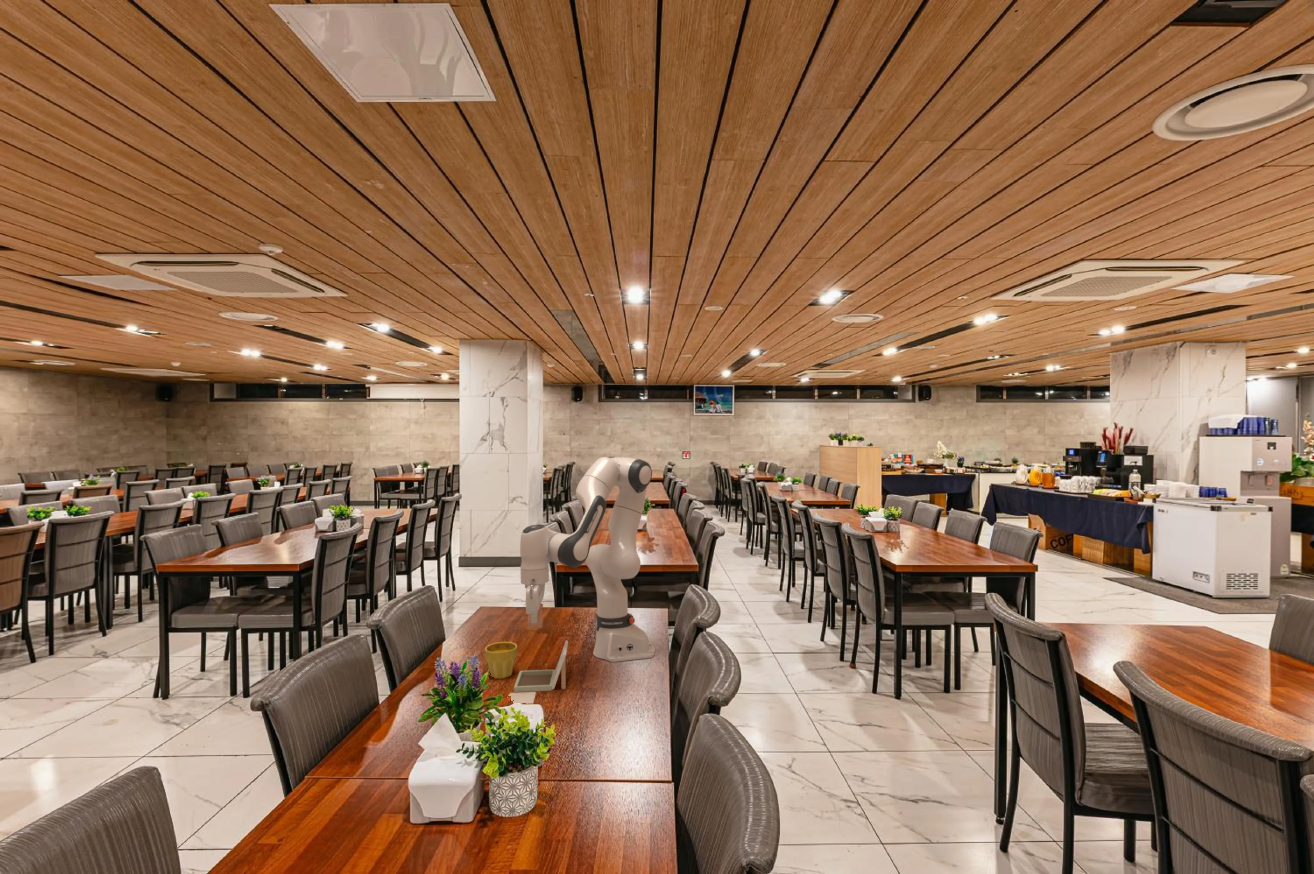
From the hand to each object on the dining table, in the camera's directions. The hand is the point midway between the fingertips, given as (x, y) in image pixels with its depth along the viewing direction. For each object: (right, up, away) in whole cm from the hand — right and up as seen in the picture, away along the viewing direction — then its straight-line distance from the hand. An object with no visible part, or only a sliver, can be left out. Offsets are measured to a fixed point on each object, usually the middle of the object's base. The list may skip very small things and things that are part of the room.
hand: (535, 619), depth 194 cm
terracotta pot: (0, -2, 0) cm, 2 cm away
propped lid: (+8, -20, 0) cm, 22 cm away
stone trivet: (-2, -20, -12) cm, 24 cm away
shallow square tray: (0, -20, 0) cm, 20 cm away
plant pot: (-13, -21, +7) cm, 25 cm away
